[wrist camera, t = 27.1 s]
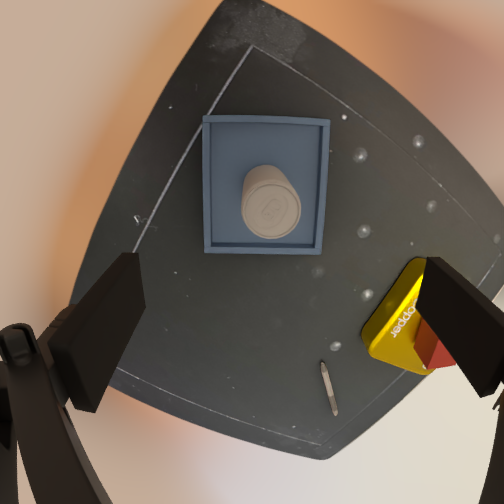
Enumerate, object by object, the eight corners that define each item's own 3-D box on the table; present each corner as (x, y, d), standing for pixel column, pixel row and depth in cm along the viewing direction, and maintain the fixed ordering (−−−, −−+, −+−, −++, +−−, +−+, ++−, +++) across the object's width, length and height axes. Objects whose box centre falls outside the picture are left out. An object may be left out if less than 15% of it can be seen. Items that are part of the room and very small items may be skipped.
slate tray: (204, 116, 34) (202, 115, 32) (326, 119, 34) (330, 119, 32) (206, 246, 40) (204, 253, 38) (317, 248, 40) (321, 254, 38)
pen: (324, 357, 46) (326, 364, 45) (338, 411, 51) (339, 416, 50) (317, 359, 46) (319, 366, 45) (332, 412, 51) (334, 418, 50)
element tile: (414, 251, 40) (430, 265, 36) (472, 291, 43) (488, 305, 38) (354, 336, 45) (363, 357, 40) (419, 362, 48) (430, 380, 43)
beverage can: (235, 189, 36) (228, 217, 25) (260, 155, 35) (265, 168, 24) (269, 213, 37) (277, 252, 26) (294, 180, 36) (315, 205, 25)
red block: (422, 318, 38) (438, 339, 34) (450, 315, 38) (467, 335, 34) (412, 347, 40) (426, 370, 36) (440, 344, 40) (455, 365, 36)
